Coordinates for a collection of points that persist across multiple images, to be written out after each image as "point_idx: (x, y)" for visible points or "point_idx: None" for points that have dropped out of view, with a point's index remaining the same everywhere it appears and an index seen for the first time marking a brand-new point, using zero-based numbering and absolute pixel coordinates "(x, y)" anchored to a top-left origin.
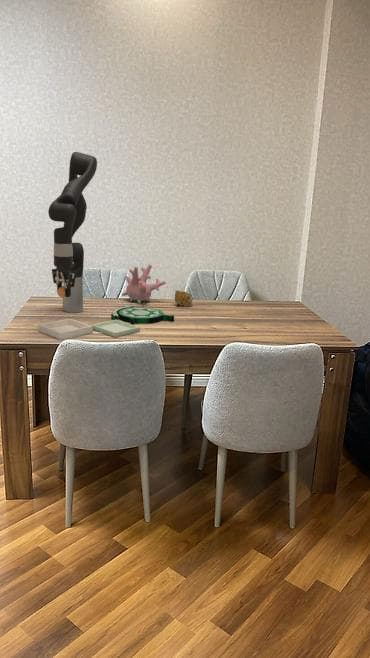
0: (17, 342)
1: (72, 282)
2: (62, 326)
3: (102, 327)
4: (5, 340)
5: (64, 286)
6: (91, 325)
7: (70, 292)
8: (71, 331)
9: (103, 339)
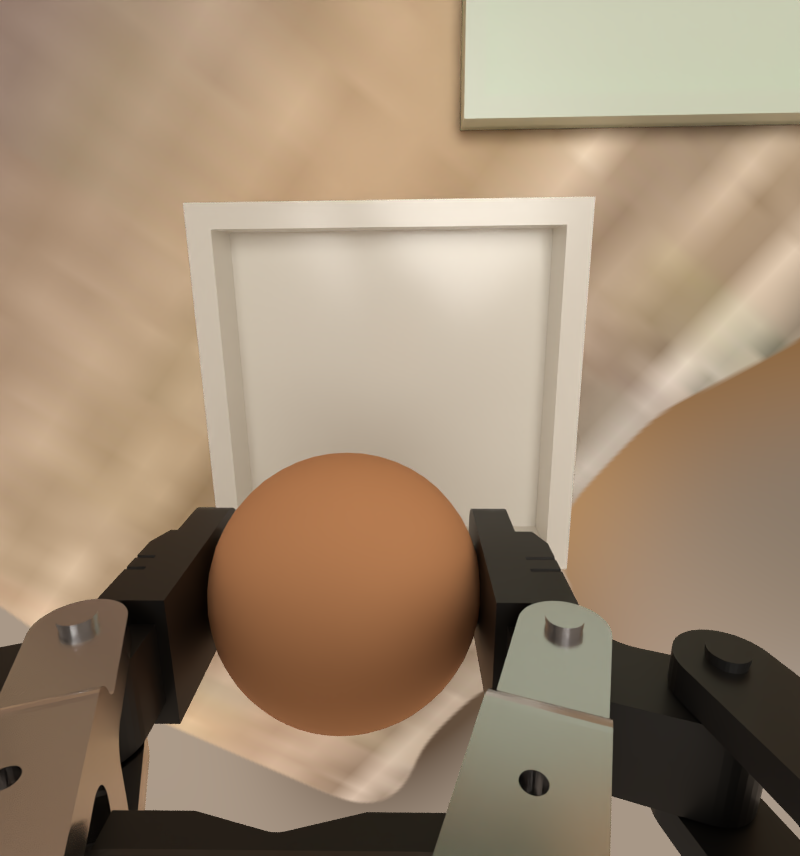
0: (395, 757)
1: (788, 781)
2: (253, 330)
3: (528, 6)
4: (310, 785)
5: (350, 670)
6: (470, 119)
7: (557, 572)
8: (574, 458)
9: (793, 251)
